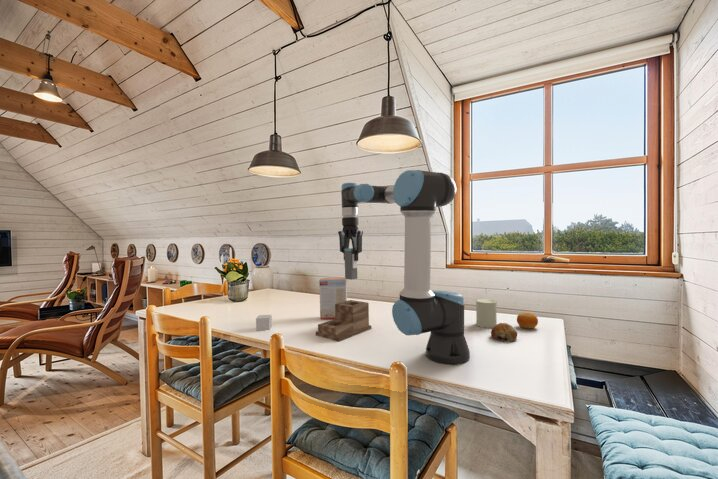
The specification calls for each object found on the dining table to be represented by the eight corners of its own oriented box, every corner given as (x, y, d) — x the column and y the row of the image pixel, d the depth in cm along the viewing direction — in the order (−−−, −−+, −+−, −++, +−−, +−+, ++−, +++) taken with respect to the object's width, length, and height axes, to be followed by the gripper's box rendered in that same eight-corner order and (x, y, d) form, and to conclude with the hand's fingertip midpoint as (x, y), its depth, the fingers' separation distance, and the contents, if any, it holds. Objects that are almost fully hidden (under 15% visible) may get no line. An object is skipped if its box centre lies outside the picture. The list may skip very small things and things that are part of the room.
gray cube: (271, 327, 158) (271, 314, 158) (269, 330, 152) (269, 317, 152) (259, 327, 158) (258, 315, 158) (256, 331, 152) (256, 318, 152)
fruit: (538, 317, 153) (530, 304, 151) (543, 329, 145) (535, 315, 143) (520, 324, 156) (512, 311, 154) (524, 335, 148) (516, 322, 147)
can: (497, 328, 149) (497, 302, 148) (476, 327, 152) (476, 301, 151) (496, 323, 158) (495, 298, 157) (475, 321, 160) (475, 297, 160)
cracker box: (347, 316, 175) (347, 277, 175) (346, 319, 169) (346, 279, 169) (321, 316, 176) (320, 277, 176) (319, 319, 170) (319, 279, 170)
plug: (357, 278, 152) (356, 248, 151) (351, 279, 149) (351, 248, 148) (350, 277, 154) (350, 248, 154) (345, 278, 151) (344, 248, 151)
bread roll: (519, 348, 133) (524, 329, 135) (505, 342, 128) (510, 322, 130) (498, 342, 142) (503, 324, 143) (484, 335, 137) (489, 317, 138)
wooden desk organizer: (371, 328, 152) (371, 303, 151) (338, 341, 135) (338, 312, 135) (348, 323, 161) (348, 299, 160) (315, 335, 144) (315, 308, 144)
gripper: (369, 216, 148) (370, 268, 149) (342, 218, 159) (343, 266, 160) (359, 216, 142) (360, 269, 143) (331, 217, 153) (332, 267, 154)
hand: (351, 267), depth 151 cm, fingers closed on plug, 4 cm apart
